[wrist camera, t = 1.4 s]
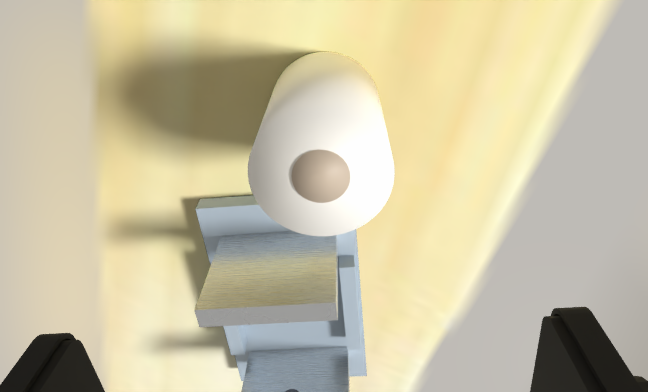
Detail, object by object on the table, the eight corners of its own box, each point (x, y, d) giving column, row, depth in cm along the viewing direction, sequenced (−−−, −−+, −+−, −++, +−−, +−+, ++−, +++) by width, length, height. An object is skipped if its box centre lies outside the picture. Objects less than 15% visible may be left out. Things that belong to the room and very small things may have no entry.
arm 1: (221, 235, 25) (194, 309, 20) (336, 228, 25) (335, 302, 20) (228, 262, 26) (203, 340, 21) (339, 256, 26) (339, 333, 21)
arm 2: (247, 341, 29) (229, 424, 24) (346, 336, 29) (348, 420, 24) (252, 361, 30) (236, 446, 25) (348, 357, 30) (351, 442, 25)
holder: (200, 199, 25) (190, 219, 24) (353, 188, 25) (354, 209, 23) (244, 368, 32) (238, 394, 30) (365, 363, 31) (367, 389, 29)
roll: (264, 56, 21) (234, 114, 15) (377, 46, 21) (393, 100, 15) (280, 158, 24) (260, 242, 18) (381, 150, 24) (396, 233, 17)
